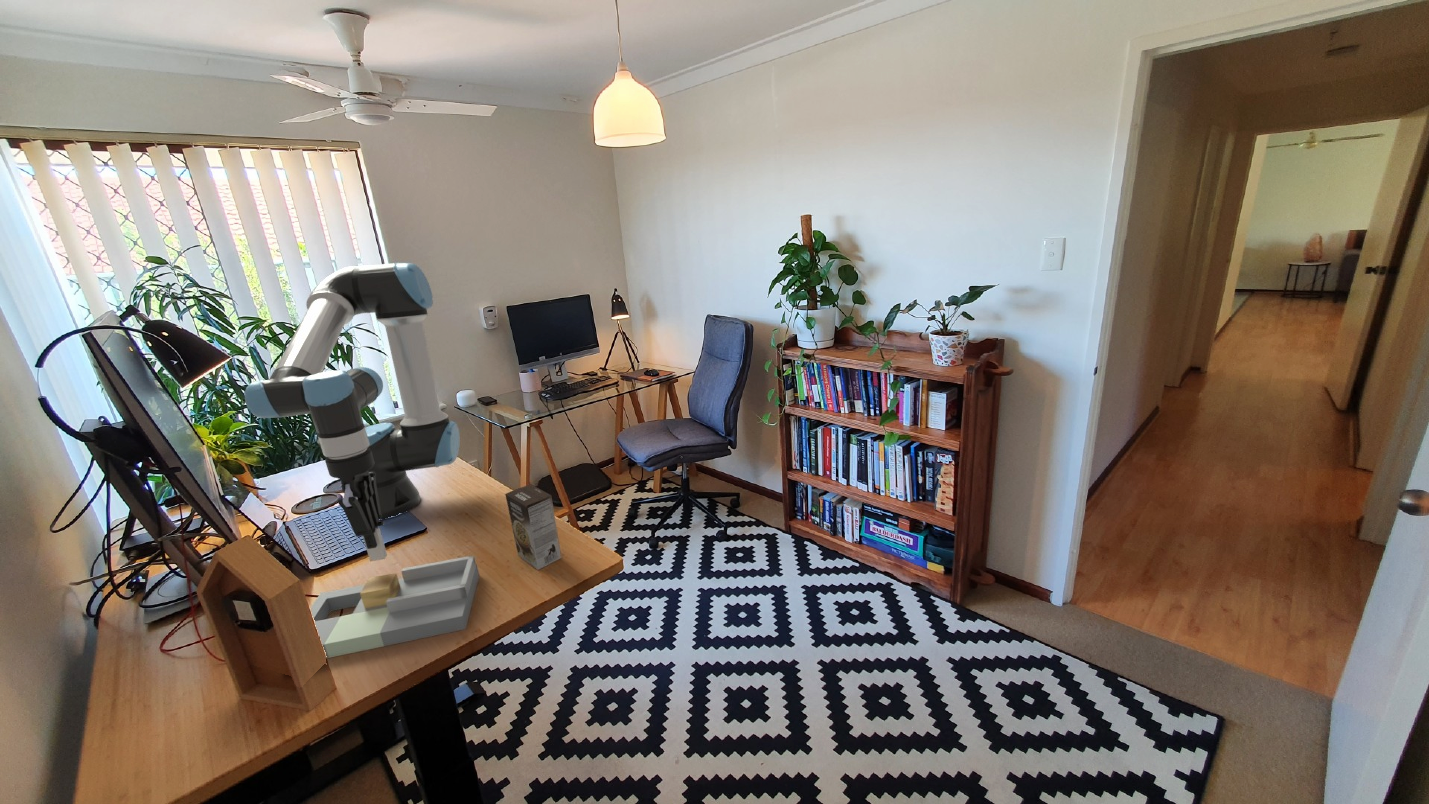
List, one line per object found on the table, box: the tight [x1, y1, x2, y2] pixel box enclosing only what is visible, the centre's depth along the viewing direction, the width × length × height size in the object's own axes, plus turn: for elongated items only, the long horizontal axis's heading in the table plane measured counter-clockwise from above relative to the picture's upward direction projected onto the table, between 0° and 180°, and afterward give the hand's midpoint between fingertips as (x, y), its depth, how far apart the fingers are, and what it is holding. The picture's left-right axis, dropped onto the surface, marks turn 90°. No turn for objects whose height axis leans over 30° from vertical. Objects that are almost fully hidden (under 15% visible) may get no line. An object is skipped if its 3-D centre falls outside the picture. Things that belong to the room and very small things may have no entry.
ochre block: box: [360, 572, 400, 608], centre depth 107 cm, size 5×5×4 cm
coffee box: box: [504, 483, 562, 571], centre depth 121 cm, size 9×6×16 cm
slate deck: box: [310, 554, 480, 659], centre depth 106 cm, size 17×30×6 cm, turn 104°
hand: (378, 558), depth 111 cm, fingers closed
